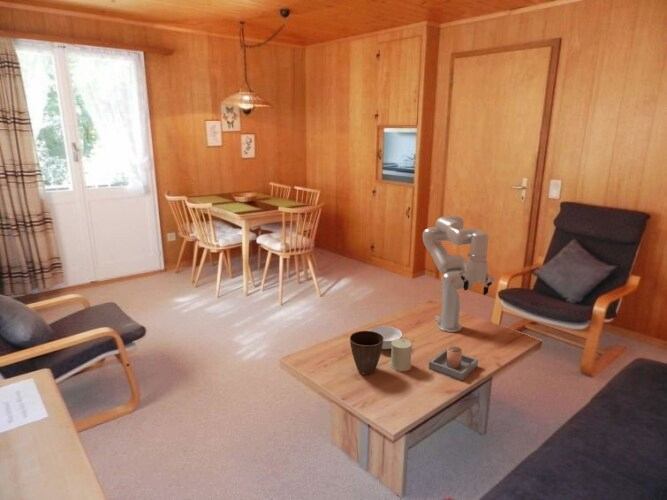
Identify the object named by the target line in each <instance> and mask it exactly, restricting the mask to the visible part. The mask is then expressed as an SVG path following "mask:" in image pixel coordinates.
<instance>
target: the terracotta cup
mask: <svg viewBox="0 0 667 500" xmlns="http://www.w3.org/2000/svg"><path fill="white" fill-rule="evenodd" d="M446 349H447V367H449V368H452V369H459V368H461V359H462V353H463V350H462V348H461V347H460V346H456V345H453V346H448V347H447V348H446Z"/></svg>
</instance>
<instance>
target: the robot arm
mask: <svg viewBox="0 0 667 500" xmlns="http://www.w3.org/2000/svg"><path fill="white" fill-rule="evenodd" d="M464 223H465V222H464V219H463V218H462V217H461V216H459V215H445V216H440V217H439V218H438V219H436V222H435V226H431V227H428V228H426V229H424V230H423V232H422V241H423V245H424V246H425V248H426V250H427V251H428V253H429V254H430V255H431V257H432V260H433V262H434V264H435V266H436V268H437V270H438V271H439V272H440V273H441V274H442V276H441V277H440V281H441V293H442V295H441V309H440V310H441V313H440V314H441V316H439V315H435V316H434V321H435V322H438V323H437V328H438V329H439V330H441V331H443V332H448V333H457V332H460V331H461V330H462V327H463V326H462V325H461V324H460V315H461V314H460V312H461V311H460V310H461V295H460V294H459V292H458V290H460V289H461V290H462V289H464V290H463V291H467V290H469V288H472V287H474V286H475V283H479V284H483V285H484V287H483V292H482V294H483V295H484V296H486V295H487V294H489V287H490V286H491V285H493V284H494V282H495V280H496V278H494V277H493V276H491V274H489V263H488V261H487V258H488V247H489V246H488V245H489V234H488V233H487V232H484V231H482V230H481V229H480V228H464ZM440 242H441V243H442V242H451V243H452V244H454V245H458V246H463V245H464V246H465V245H470V253H467V257H468V258H469V259H467V260H466V258H465V256H463V255H461V254H452V255H451V254H449V252H448V251H447V249H446V247H444V246H443V245H442V244H440ZM488 280H490V281H488Z"/></svg>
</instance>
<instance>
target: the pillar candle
mask: <svg viewBox="0 0 667 500" xmlns="http://www.w3.org/2000/svg"><path fill="white" fill-rule="evenodd" d="M391 344H392V348H391V349H390V350H391V353H390V354H391V355H390V357H391V358H390V367H392V368H393V369H392V368H391V369H392V370H394V369H395V370H394V371H396V370H398V371H397V372H407V371H410V370H411V367H412V365H411V364H412V341H410V340H408V339H405V338H402V339H396V340H393V341H392V342H391ZM406 370H407V371H406Z"/></svg>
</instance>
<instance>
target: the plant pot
mask: <svg viewBox="0 0 667 500" xmlns="http://www.w3.org/2000/svg"><path fill="white" fill-rule="evenodd" d="M383 339H384V338H383V336H382V335H381V334H379V333H376V332H372V331H369V330H359V331H357V332H356V331H355V332H353V333H352V334H351V335H349V342H350V343H349V344H350V348H351V349H350V350H351V354H352V357H353V358H352V359H353V361H354V363H355V366H356V369H357V371H358V373H360V372H361V373H364V374H363V375H366V374H368V375H372V374H374V373H375V371H376V369H377V367H378V363H379V361H380V358H381V354H382V350H383V349H382V345H383ZM373 372H374V373H373ZM361 373H360V374H361ZM371 373H372V374H371Z"/></svg>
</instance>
